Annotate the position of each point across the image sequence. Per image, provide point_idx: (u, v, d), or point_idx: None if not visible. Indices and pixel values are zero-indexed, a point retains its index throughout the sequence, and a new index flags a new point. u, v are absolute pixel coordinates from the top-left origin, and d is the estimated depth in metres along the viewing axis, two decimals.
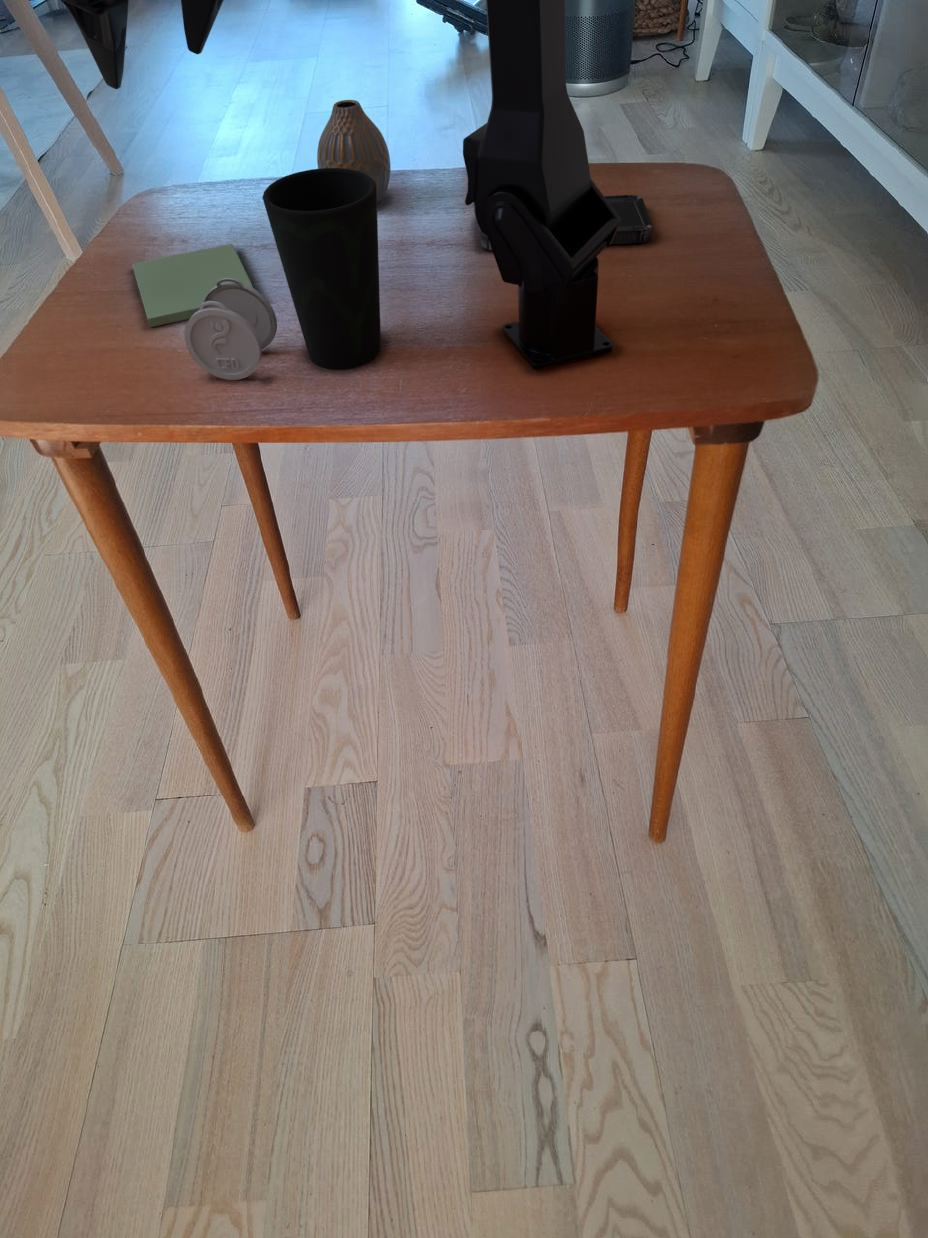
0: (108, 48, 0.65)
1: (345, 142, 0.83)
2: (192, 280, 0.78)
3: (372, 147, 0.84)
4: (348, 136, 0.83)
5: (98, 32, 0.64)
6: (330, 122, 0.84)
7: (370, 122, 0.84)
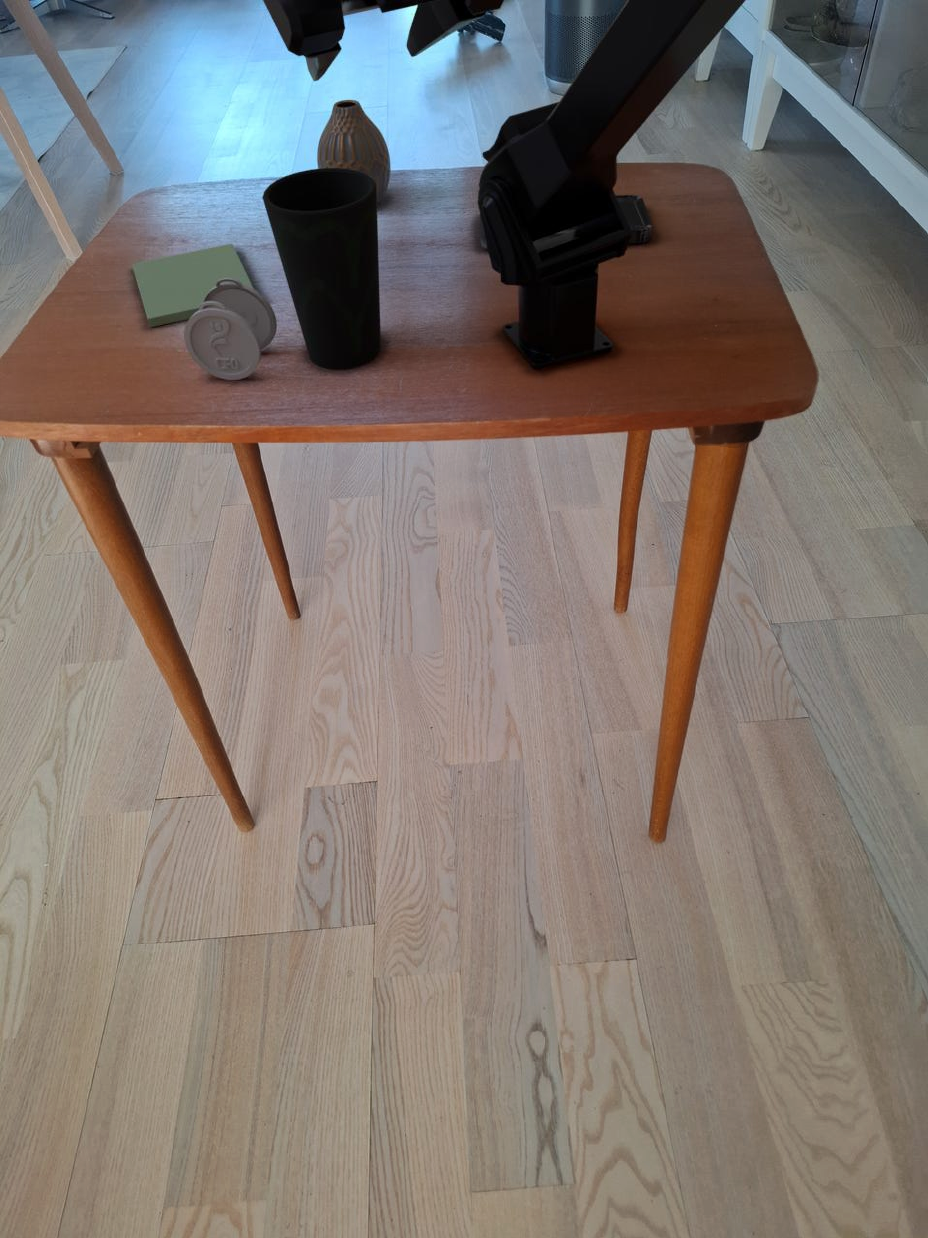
0: (314, 61, 0.70)
1: (345, 142, 0.83)
2: (192, 280, 0.78)
3: (372, 147, 0.84)
4: (348, 136, 0.83)
5: None
6: (330, 122, 0.84)
7: (370, 122, 0.84)
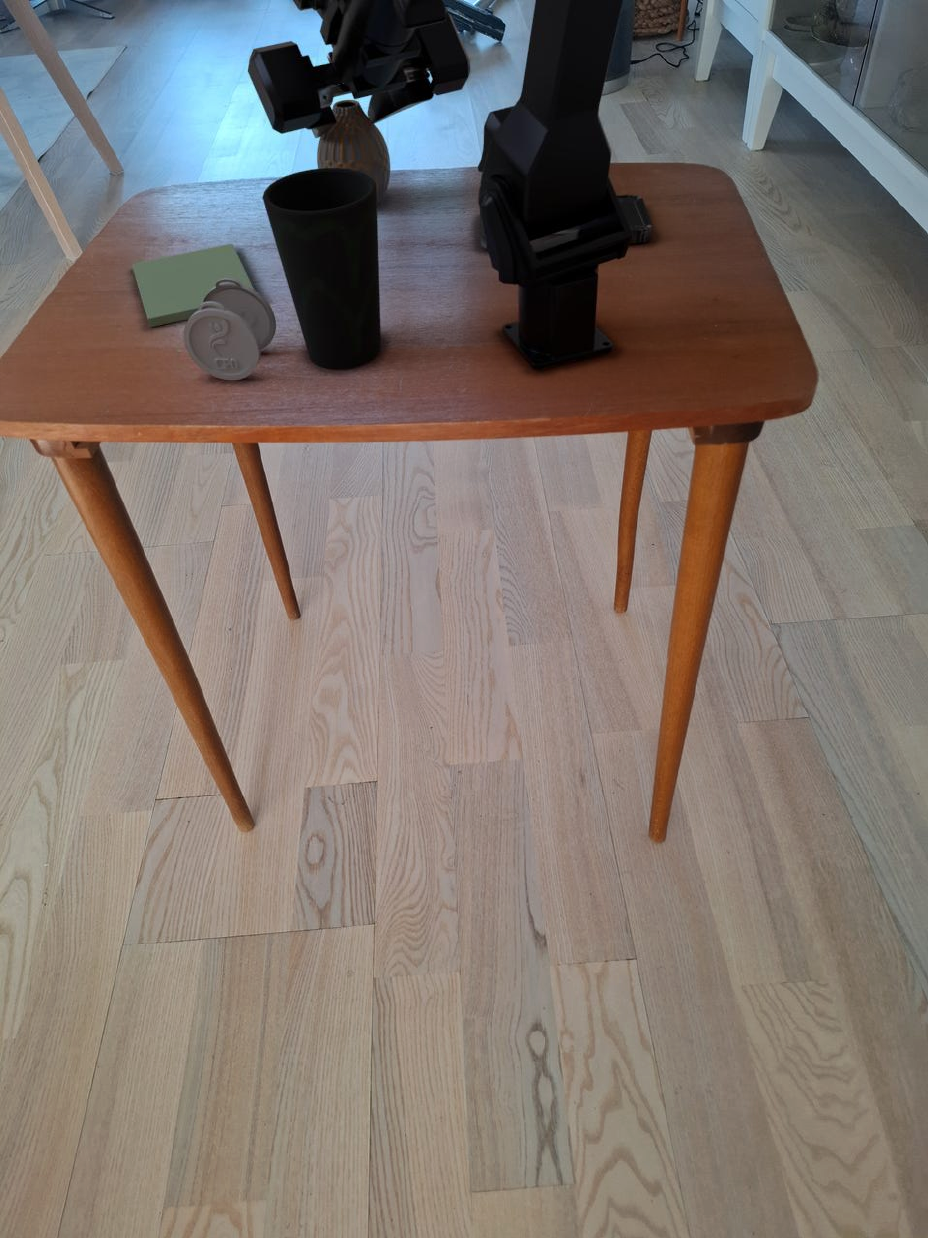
0: None
1: (344, 142, 0.83)
2: (192, 280, 0.78)
3: (372, 147, 0.84)
4: (348, 136, 0.83)
5: None
6: None
7: (370, 122, 0.84)
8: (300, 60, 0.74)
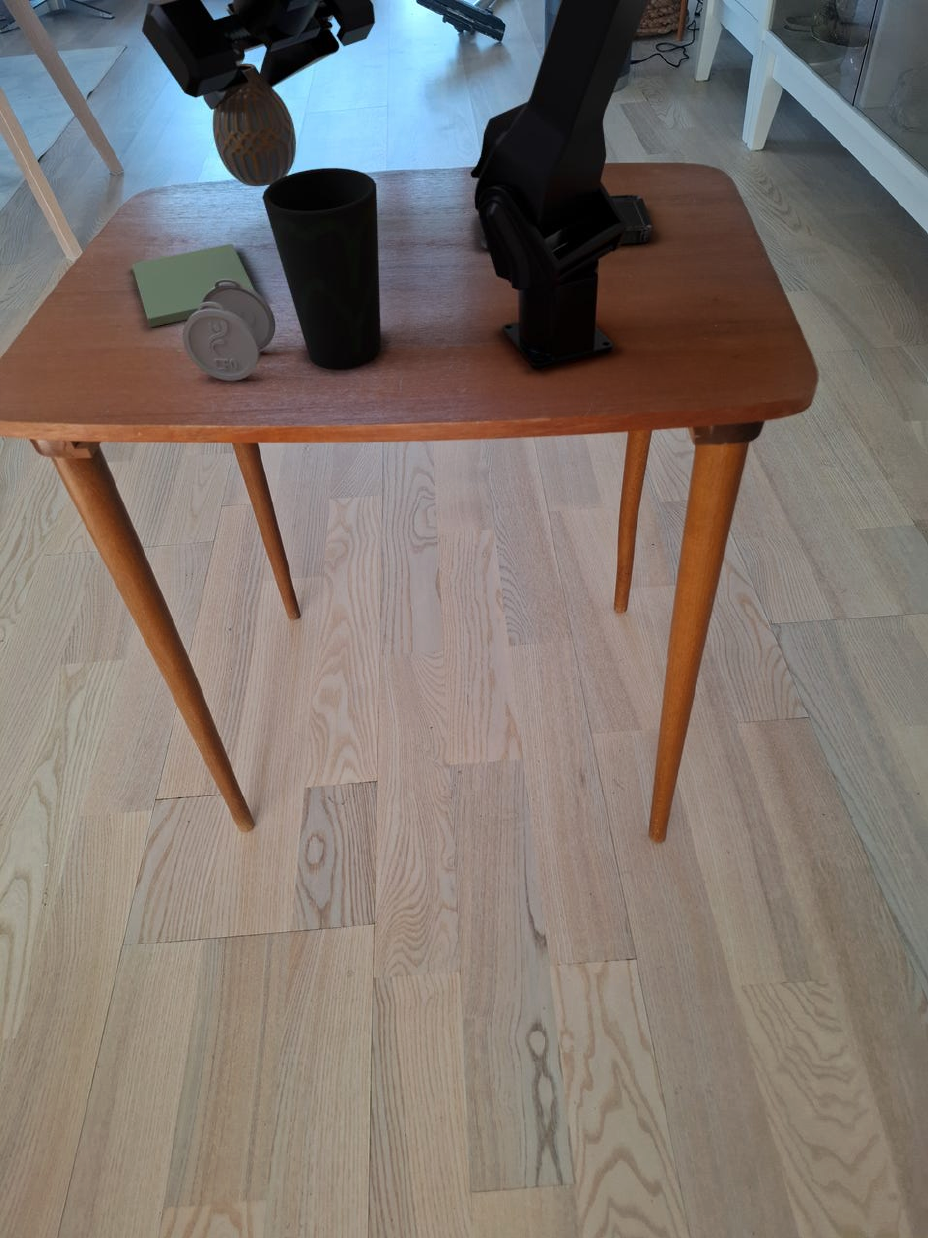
0: (215, 92, 0.73)
1: (249, 109, 0.75)
2: (192, 280, 0.78)
3: (278, 112, 0.76)
4: (251, 102, 0.75)
5: None
6: None
7: (269, 86, 0.77)
8: (204, 12, 0.66)
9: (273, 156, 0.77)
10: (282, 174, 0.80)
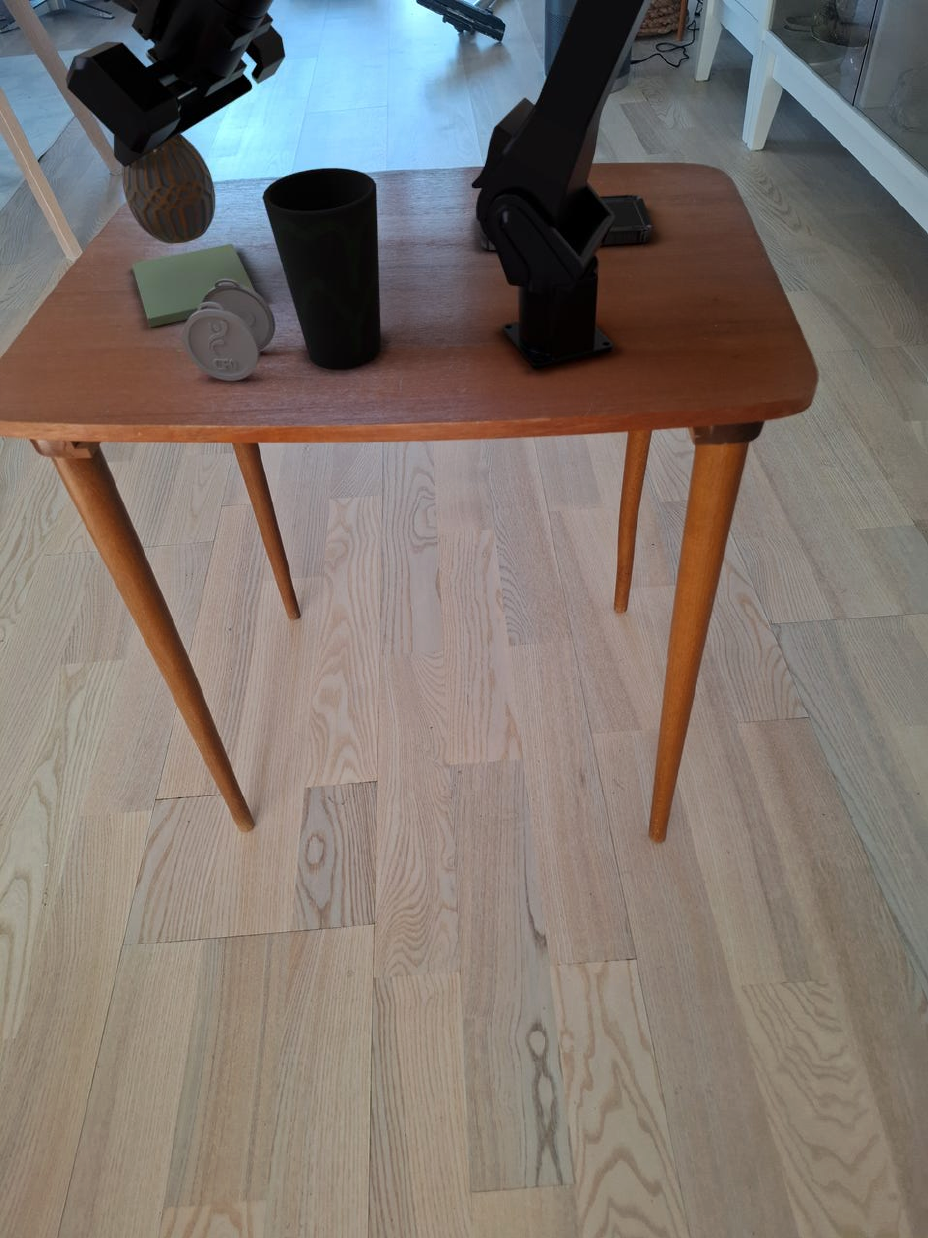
0: None
1: (170, 161, 0.69)
2: (192, 280, 0.78)
3: (198, 160, 0.71)
4: (171, 154, 0.69)
5: None
6: None
7: None
8: (136, 60, 0.60)
9: (200, 208, 0.72)
10: (207, 226, 0.74)
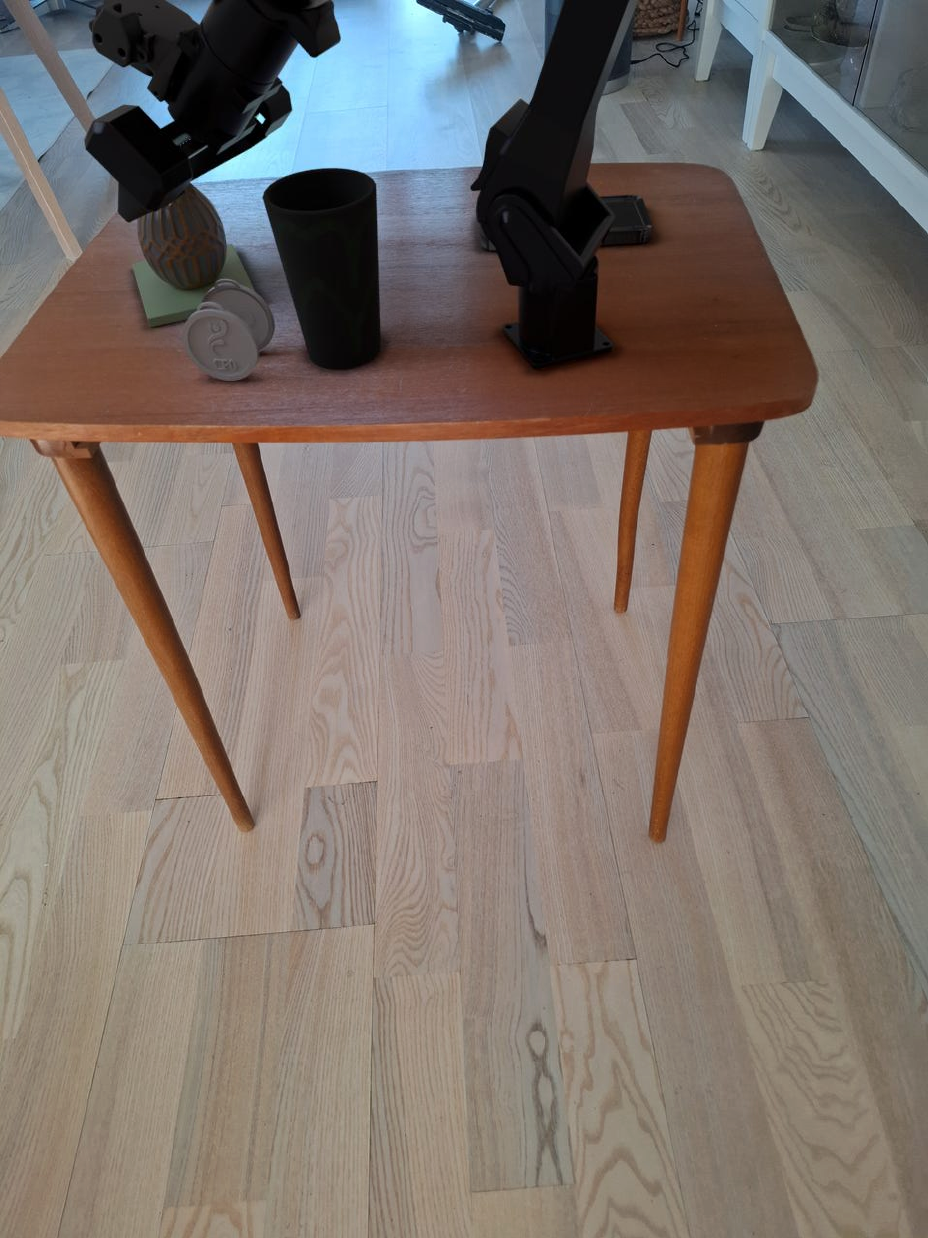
0: (141, 206, 0.68)
1: (184, 214, 0.72)
2: None
3: (210, 212, 0.74)
4: (186, 206, 0.72)
5: None
6: None
7: (194, 186, 0.74)
8: (151, 123, 0.63)
9: (212, 257, 0.75)
10: (218, 272, 0.77)
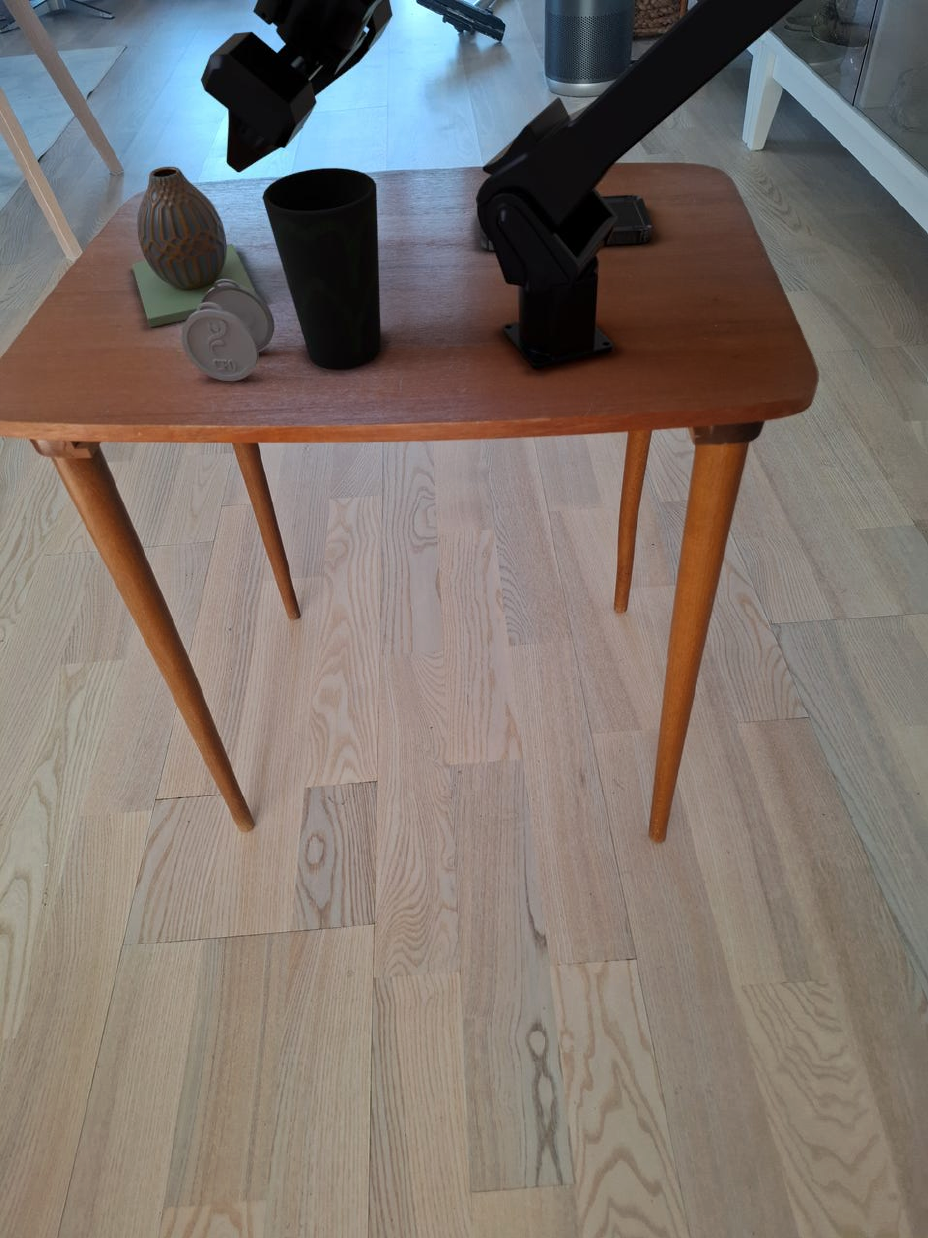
0: (255, 150, 0.63)
1: (184, 214, 0.72)
2: None
3: (210, 212, 0.74)
4: (186, 206, 0.72)
5: (251, 135, 0.62)
6: (154, 196, 0.72)
7: (194, 186, 0.74)
8: (268, 48, 0.57)
9: (212, 257, 0.75)
10: (218, 272, 0.77)
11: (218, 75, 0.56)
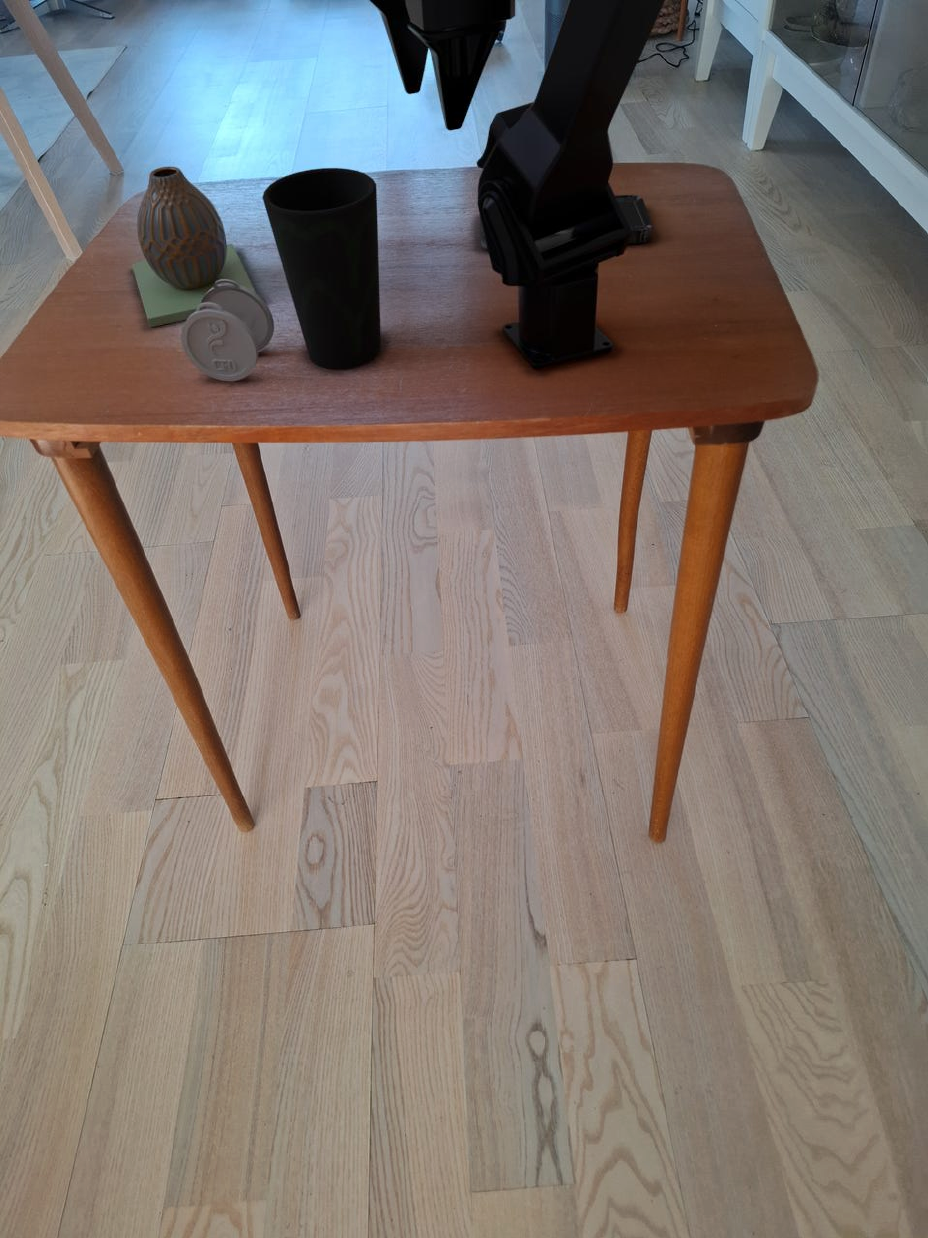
0: (471, 79, 0.62)
1: (184, 214, 0.72)
2: None
3: (211, 212, 0.74)
4: (186, 206, 0.72)
5: (462, 67, 0.62)
6: (154, 196, 0.72)
7: None
8: None
9: (212, 257, 0.75)
10: (218, 272, 0.77)
11: (440, 1, 0.55)
